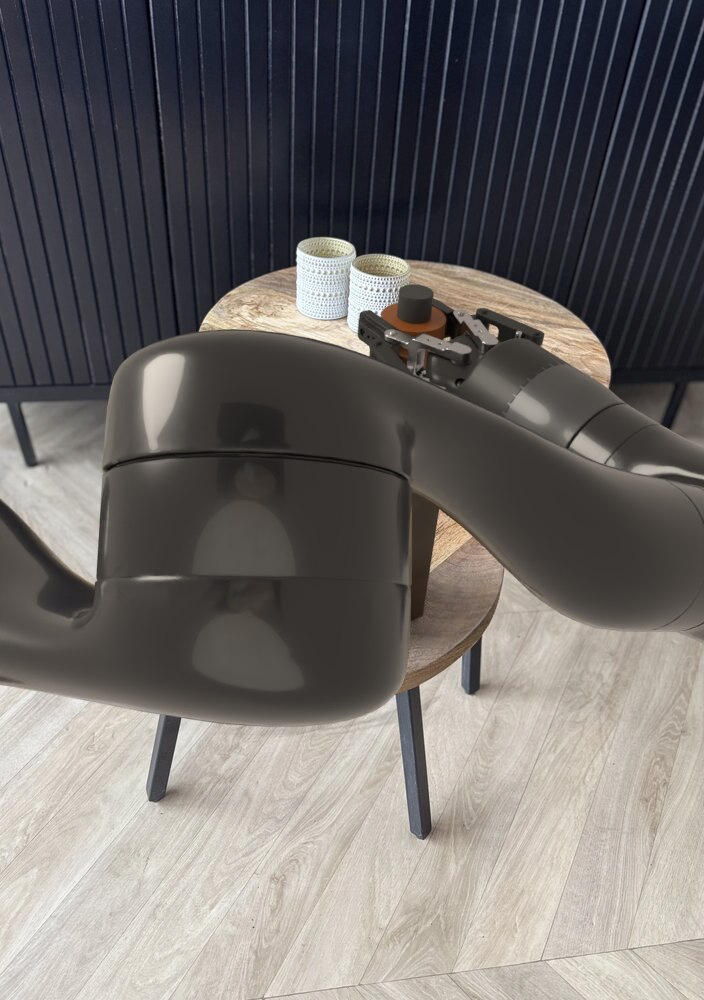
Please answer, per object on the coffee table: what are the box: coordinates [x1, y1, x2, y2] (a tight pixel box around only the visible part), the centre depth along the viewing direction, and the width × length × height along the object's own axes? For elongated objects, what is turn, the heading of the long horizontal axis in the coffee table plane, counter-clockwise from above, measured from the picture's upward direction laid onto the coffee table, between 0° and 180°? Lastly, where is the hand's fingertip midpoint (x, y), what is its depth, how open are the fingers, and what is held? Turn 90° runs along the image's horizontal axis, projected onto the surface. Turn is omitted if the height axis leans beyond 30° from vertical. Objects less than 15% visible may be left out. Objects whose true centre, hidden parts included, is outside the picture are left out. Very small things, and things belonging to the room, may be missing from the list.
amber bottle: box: [380, 284, 446, 370], centre depth 64 cm, size 5×5×12 cm
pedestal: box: [410, 493, 440, 622], centre depth 76 cm, size 6×6×22 cm
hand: (392, 314), depth 64 cm, fingers closed on amber bottle, 5 cm apart
